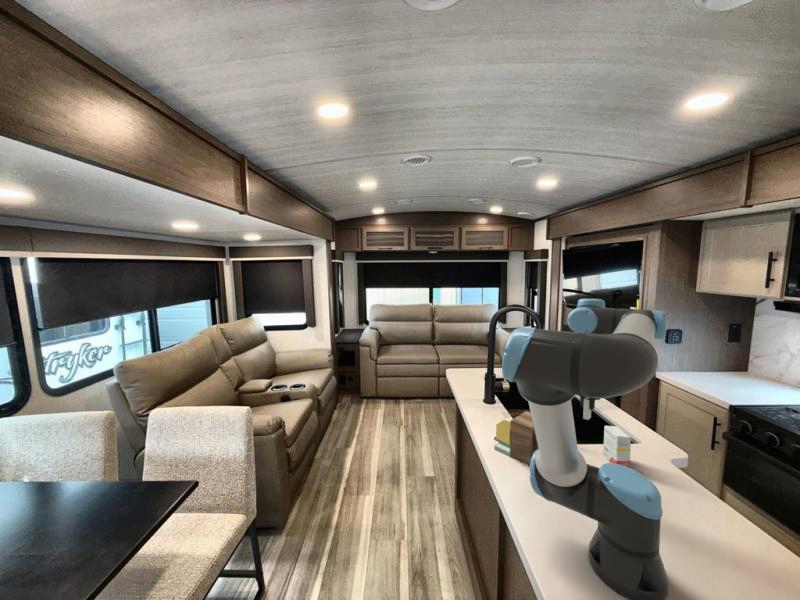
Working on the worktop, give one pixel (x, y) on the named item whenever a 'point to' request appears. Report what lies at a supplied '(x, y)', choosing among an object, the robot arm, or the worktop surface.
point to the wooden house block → (522, 438)
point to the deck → (502, 448)
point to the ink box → (616, 446)
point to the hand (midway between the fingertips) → (586, 417)
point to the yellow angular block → (506, 434)
